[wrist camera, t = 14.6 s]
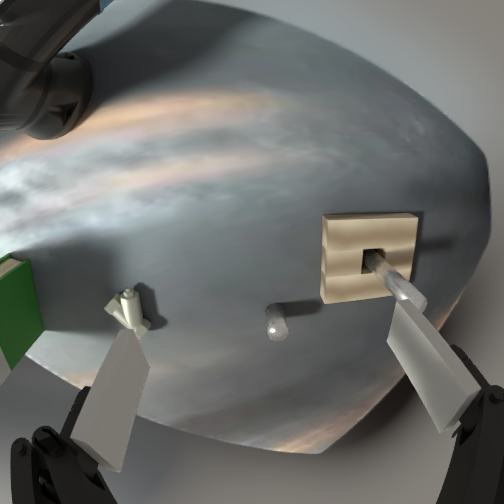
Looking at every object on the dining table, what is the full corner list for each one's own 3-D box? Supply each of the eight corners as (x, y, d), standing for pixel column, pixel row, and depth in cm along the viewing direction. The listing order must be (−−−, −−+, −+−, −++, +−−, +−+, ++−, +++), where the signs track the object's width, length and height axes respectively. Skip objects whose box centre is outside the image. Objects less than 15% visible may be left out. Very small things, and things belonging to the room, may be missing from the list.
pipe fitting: (130, 278, 42) (110, 300, 43) (121, 288, 38) (101, 311, 40) (164, 310, 44) (143, 330, 45) (158, 323, 40) (136, 343, 41)
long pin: (359, 247, 40) (411, 298, 25) (374, 246, 40) (429, 295, 25) (358, 262, 41) (406, 318, 26) (372, 261, 41) (424, 314, 26)
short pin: (265, 304, 43) (267, 326, 38) (283, 302, 43) (288, 324, 38) (265, 319, 44) (268, 341, 39) (283, 317, 44) (288, 340, 39)
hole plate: (322, 215, 38) (328, 220, 36) (408, 212, 38) (418, 217, 36) (320, 294, 43) (324, 303, 40) (398, 284, 43) (406, 293, 40)
